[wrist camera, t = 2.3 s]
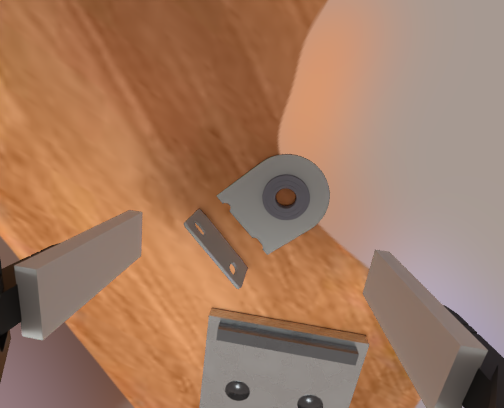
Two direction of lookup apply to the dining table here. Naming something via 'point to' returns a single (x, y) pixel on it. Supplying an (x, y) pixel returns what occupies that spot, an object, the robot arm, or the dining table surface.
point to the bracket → (265, 209)
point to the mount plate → (278, 363)
